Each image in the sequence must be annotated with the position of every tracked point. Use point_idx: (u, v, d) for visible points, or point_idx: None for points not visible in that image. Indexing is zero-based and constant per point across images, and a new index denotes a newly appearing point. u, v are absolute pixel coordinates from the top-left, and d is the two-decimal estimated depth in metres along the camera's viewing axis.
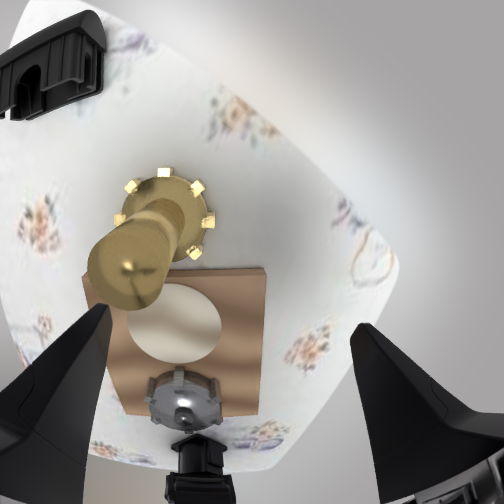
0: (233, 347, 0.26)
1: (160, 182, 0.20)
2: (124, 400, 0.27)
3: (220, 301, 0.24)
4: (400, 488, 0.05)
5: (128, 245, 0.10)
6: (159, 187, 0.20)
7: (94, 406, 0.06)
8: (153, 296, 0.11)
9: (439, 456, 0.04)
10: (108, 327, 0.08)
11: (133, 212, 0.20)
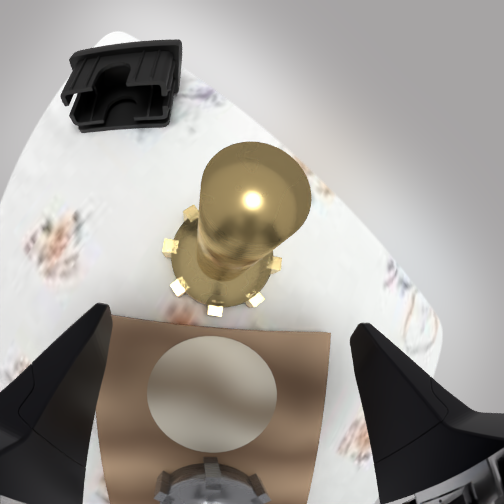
0: (286, 430, 0.17)
1: None
2: (115, 499, 0.13)
3: (277, 365, 0.18)
4: (400, 488, 0.05)
5: (272, 156, 0.09)
6: None
7: (94, 406, 0.06)
8: (295, 224, 0.09)
9: (439, 456, 0.04)
10: (108, 327, 0.08)
11: (189, 239, 0.18)
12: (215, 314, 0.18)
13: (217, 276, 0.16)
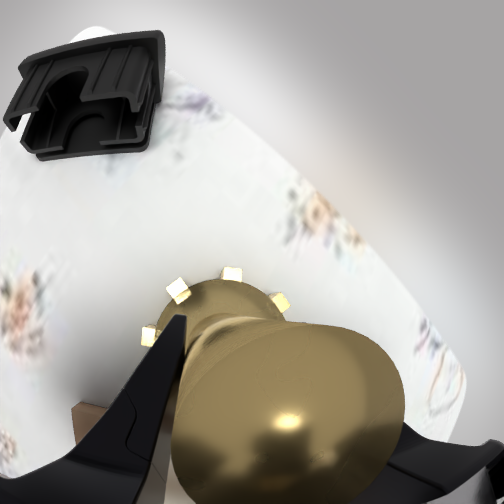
0: None
1: (226, 288, 0.14)
2: None
3: None
4: None
5: (342, 361, 0.03)
6: (224, 296, 0.14)
7: None
8: (364, 482, 0.03)
9: (368, 488, 0.04)
10: None
11: None
12: None
13: None
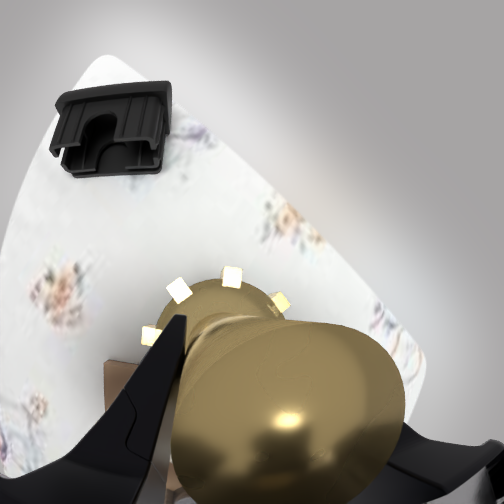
0: None
1: (226, 288, 0.14)
2: None
3: None
4: None
5: (342, 359, 0.03)
6: (224, 295, 0.14)
7: None
8: (364, 481, 0.03)
9: (368, 488, 0.04)
10: None
11: None
12: None
13: None
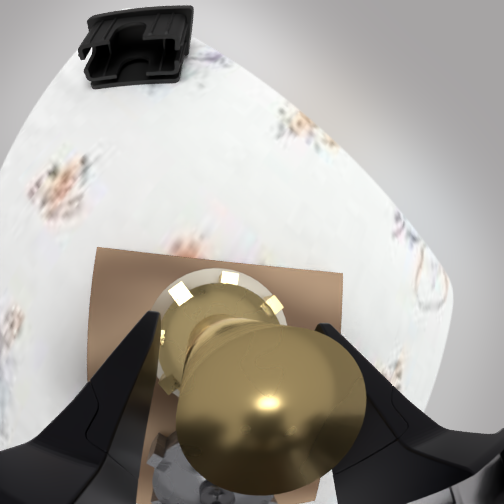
0: None
1: (224, 291, 0.15)
2: None
3: (288, 304, 0.18)
4: None
5: (308, 355, 0.04)
6: (221, 298, 0.15)
7: (147, 416, 0.07)
8: (333, 459, 0.04)
9: (396, 477, 0.04)
10: (159, 335, 0.08)
11: (178, 328, 0.14)
12: None
13: None
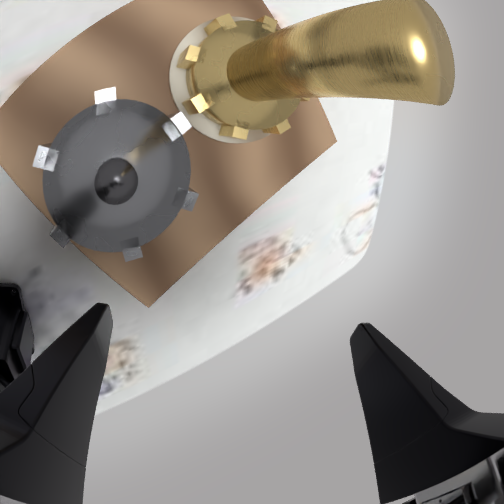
0: (249, 167, 0.18)
1: None
2: (15, 102, 0.09)
3: (297, 112, 0.18)
4: (400, 488, 0.05)
5: (448, 53, 0.05)
6: None
7: (94, 406, 0.06)
8: (433, 96, 0.05)
9: (439, 456, 0.04)
10: (108, 327, 0.08)
11: (245, 34, 0.12)
12: (196, 106, 0.12)
13: (244, 76, 0.11)
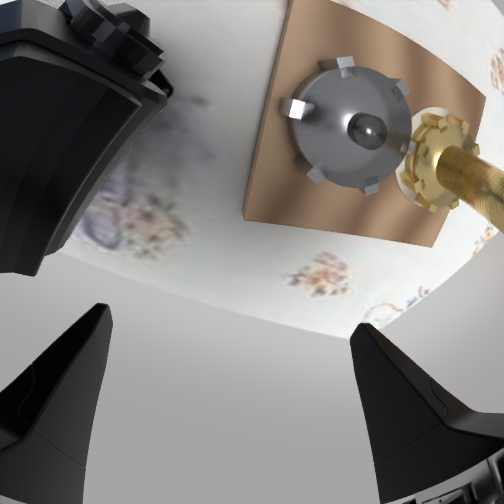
0: (389, 209, 0.21)
1: None
2: (338, 10, 0.11)
3: None
4: (400, 488, 0.05)
5: None
6: None
7: (94, 406, 0.06)
8: None
9: (439, 456, 0.04)
10: (108, 327, 0.08)
11: (464, 143, 0.15)
12: (419, 149, 0.15)
13: (456, 165, 0.14)
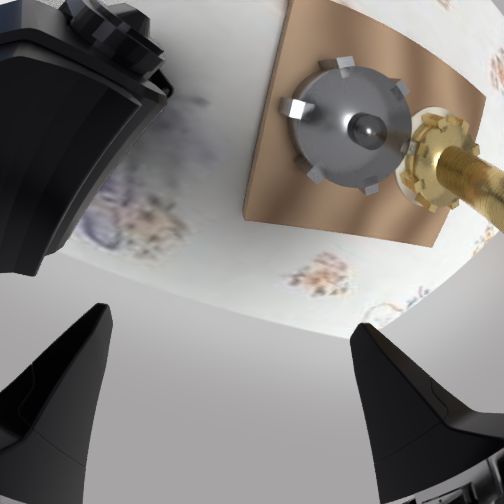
0: (390, 209, 0.21)
1: None
2: (338, 10, 0.11)
3: None
4: (400, 488, 0.05)
5: None
6: None
7: (94, 406, 0.06)
8: None
9: (439, 456, 0.04)
10: (108, 327, 0.08)
11: (464, 143, 0.15)
12: (419, 149, 0.15)
13: (456, 164, 0.14)
